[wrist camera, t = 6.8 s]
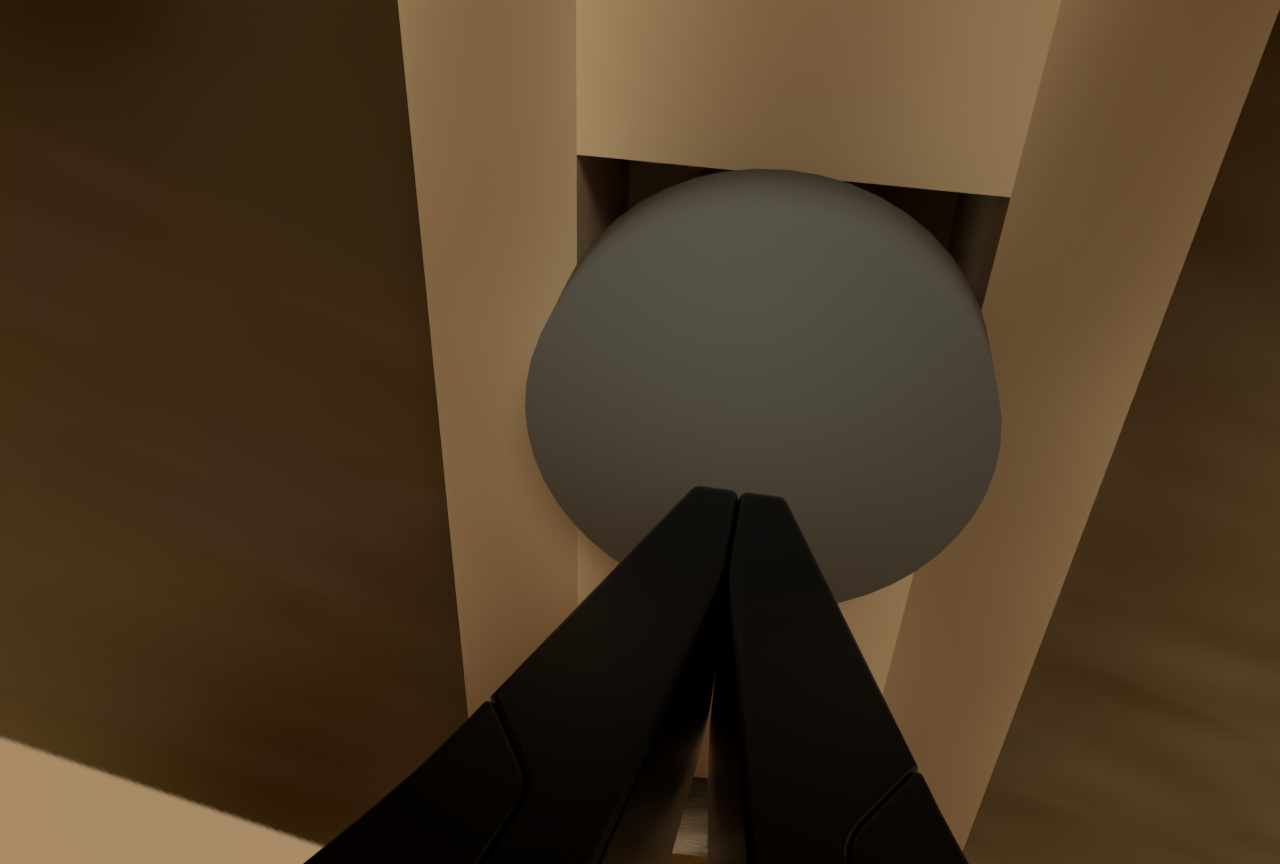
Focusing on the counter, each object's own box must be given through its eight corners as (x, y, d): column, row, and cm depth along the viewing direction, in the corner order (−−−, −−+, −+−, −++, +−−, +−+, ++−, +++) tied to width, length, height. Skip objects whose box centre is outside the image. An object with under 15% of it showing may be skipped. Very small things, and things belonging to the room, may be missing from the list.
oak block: (1195, -162, 12) (1323, -107, 8) (887, 857, 23) (890, 1042, 20) (505, -200, 13) (381, -164, 9) (541, 796, 24) (492, 963, 21)
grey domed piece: (1007, 95, 12) (1061, 248, 9) (927, 427, 15) (945, 637, 12) (608, 61, 13) (517, 192, 9) (604, 385, 16) (531, 576, 12)
